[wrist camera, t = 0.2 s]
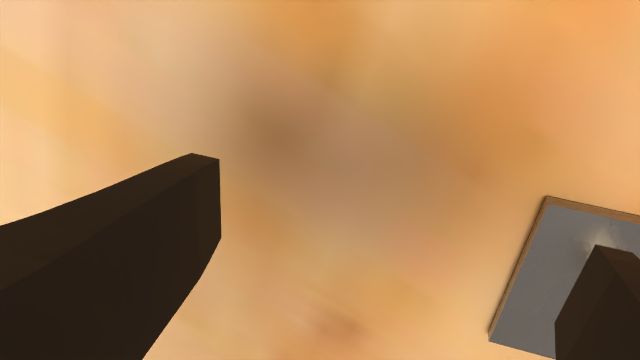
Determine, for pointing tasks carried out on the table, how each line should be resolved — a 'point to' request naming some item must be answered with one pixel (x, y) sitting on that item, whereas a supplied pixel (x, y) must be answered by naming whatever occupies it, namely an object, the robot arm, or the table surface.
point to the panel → (555, 270)
